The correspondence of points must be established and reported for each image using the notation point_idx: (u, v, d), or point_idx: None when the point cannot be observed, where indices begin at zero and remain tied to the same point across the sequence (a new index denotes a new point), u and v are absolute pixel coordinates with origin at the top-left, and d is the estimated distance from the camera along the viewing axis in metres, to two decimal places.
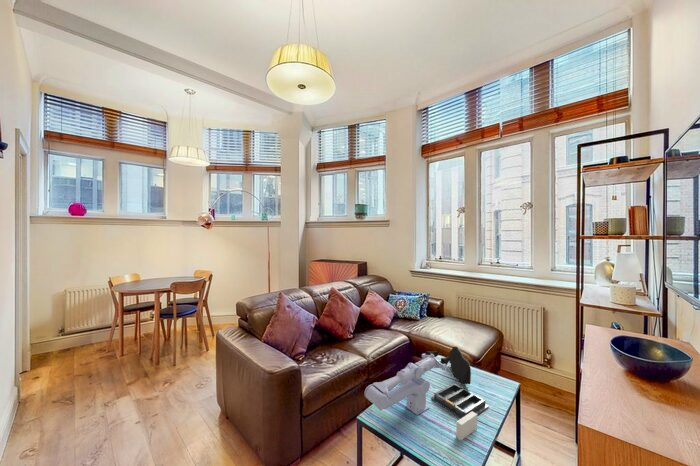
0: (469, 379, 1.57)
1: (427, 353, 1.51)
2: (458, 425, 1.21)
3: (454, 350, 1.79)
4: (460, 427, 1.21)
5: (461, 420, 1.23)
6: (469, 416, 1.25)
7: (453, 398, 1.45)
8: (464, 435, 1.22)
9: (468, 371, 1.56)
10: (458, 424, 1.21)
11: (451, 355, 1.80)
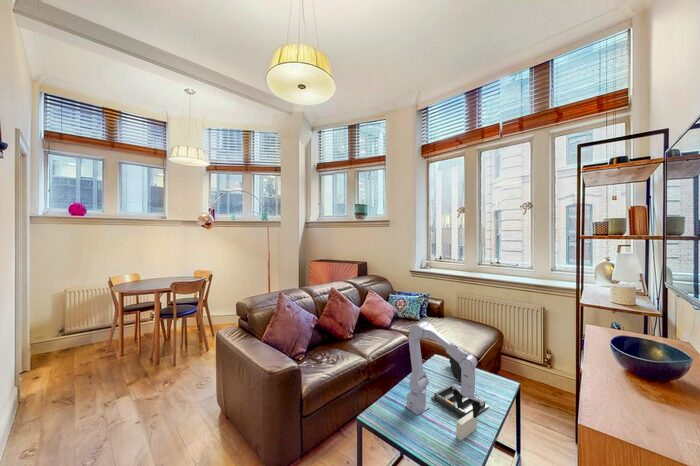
0: None
1: None
2: (458, 425, 1.21)
3: None
4: (460, 427, 1.21)
5: (461, 420, 1.23)
6: (469, 416, 1.25)
7: (453, 398, 1.45)
8: (464, 435, 1.22)
9: None
10: (458, 424, 1.21)
11: None
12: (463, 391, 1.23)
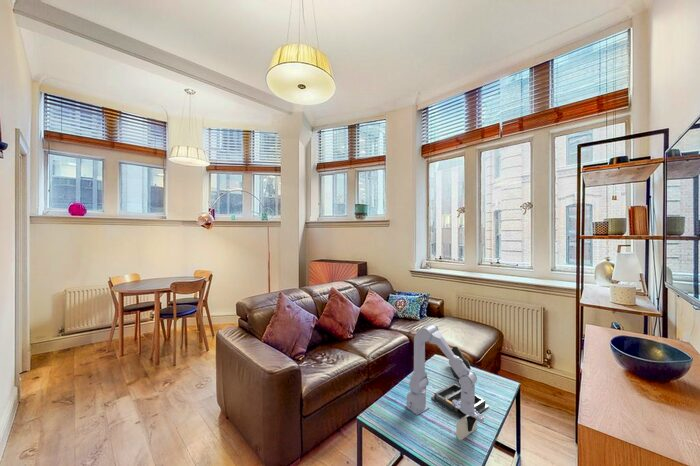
0: None
1: None
2: (458, 425, 1.21)
3: (454, 350, 1.79)
4: (460, 427, 1.21)
5: (461, 420, 1.23)
6: None
7: (453, 398, 1.45)
8: (464, 435, 1.22)
9: None
10: (458, 424, 1.21)
11: None
12: (463, 408, 1.23)
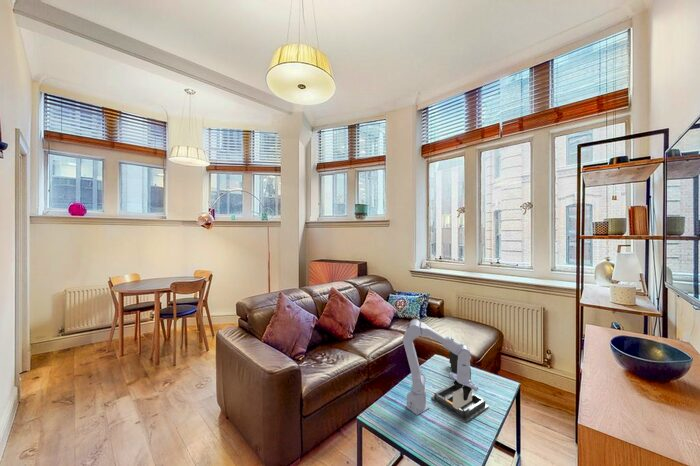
0: None
1: None
2: (454, 395, 1.32)
3: None
4: (456, 397, 1.31)
5: (457, 391, 1.33)
6: None
7: None
8: (460, 405, 1.32)
9: None
10: (454, 394, 1.32)
11: (451, 355, 1.80)
12: (459, 378, 1.33)
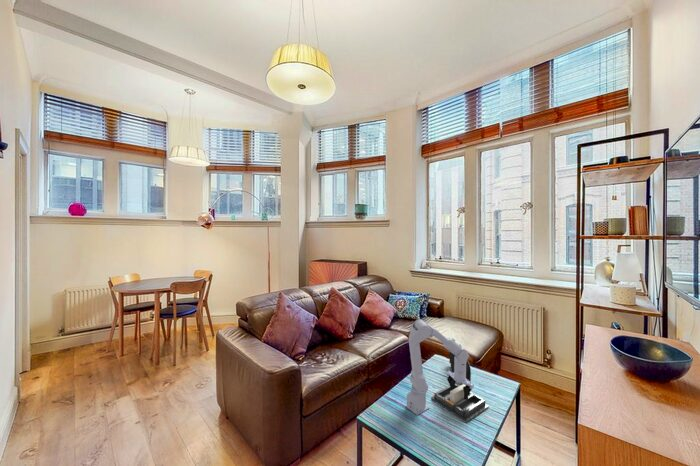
0: (469, 379, 1.57)
1: None
2: (451, 394, 1.41)
3: None
4: (453, 396, 1.40)
5: (454, 390, 1.42)
6: (461, 387, 1.45)
7: None
8: None
9: (468, 372, 1.56)
10: (451, 393, 1.41)
11: (451, 355, 1.80)
12: (456, 377, 1.43)
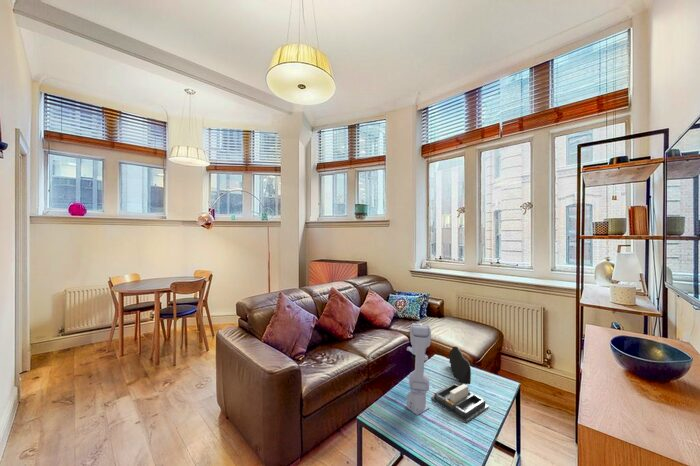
0: (469, 379, 1.57)
1: None
2: (451, 394, 1.41)
3: (454, 350, 1.79)
4: (453, 396, 1.40)
5: (454, 390, 1.42)
6: (461, 387, 1.45)
7: None
8: None
9: (468, 371, 1.56)
10: (451, 393, 1.41)
11: (451, 355, 1.80)
12: (413, 350, 1.59)
